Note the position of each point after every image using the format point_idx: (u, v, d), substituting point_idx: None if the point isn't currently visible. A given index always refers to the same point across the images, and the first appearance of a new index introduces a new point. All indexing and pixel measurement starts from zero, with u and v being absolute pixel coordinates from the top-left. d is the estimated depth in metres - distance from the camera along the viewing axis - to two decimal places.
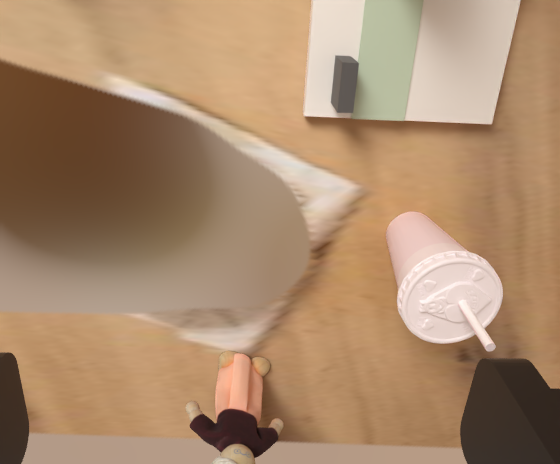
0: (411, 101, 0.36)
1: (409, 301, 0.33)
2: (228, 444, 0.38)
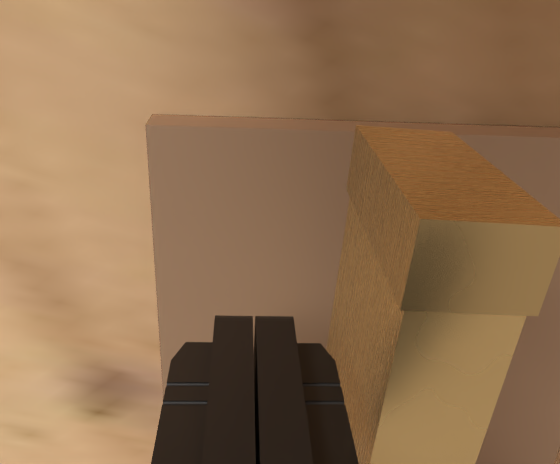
0: None
1: None
2: None
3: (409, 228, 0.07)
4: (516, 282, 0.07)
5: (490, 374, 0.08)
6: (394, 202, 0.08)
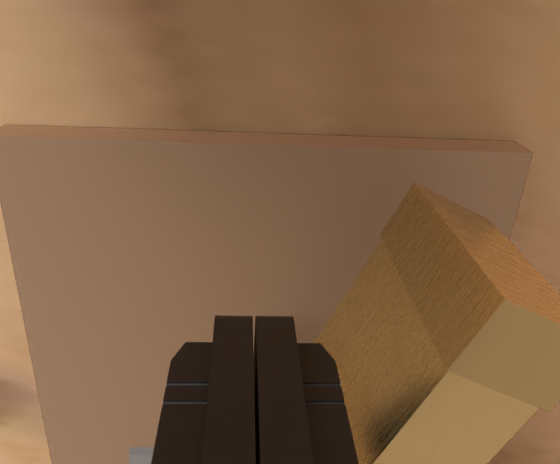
0: None
1: None
2: None
3: (483, 301, 0.08)
4: (548, 378, 0.08)
5: (485, 448, 0.09)
6: (463, 272, 0.09)
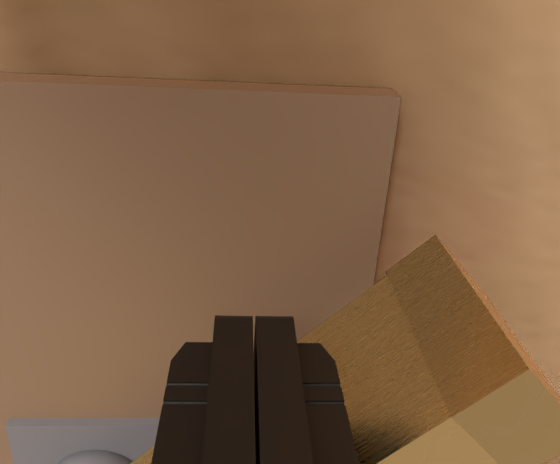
0: None
1: None
2: None
3: (504, 365, 0.08)
4: (528, 449, 0.09)
5: None
6: (484, 332, 0.09)
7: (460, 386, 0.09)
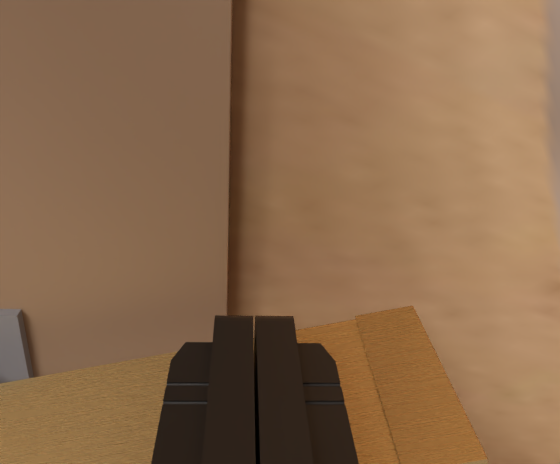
0: None
1: None
2: None
3: (464, 446, 0.09)
4: None
5: None
6: (448, 410, 0.10)
7: (417, 448, 0.09)
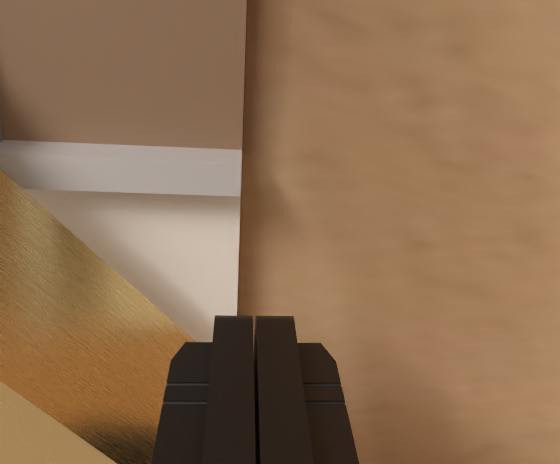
0: None
1: None
2: None
3: None
4: None
5: None
6: None
7: None
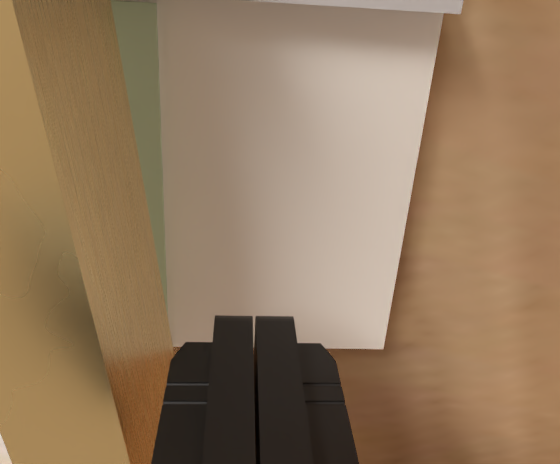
0: (179, 309, 0.15)
1: None
2: None
3: None
4: None
5: None
6: None
7: None
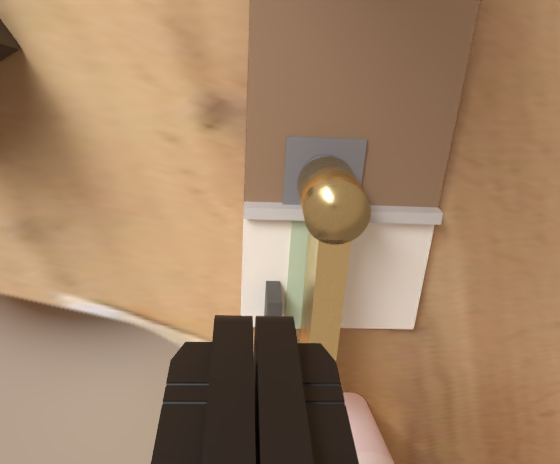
0: None
1: None
2: None
3: None
4: None
5: None
6: None
7: None
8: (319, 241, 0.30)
